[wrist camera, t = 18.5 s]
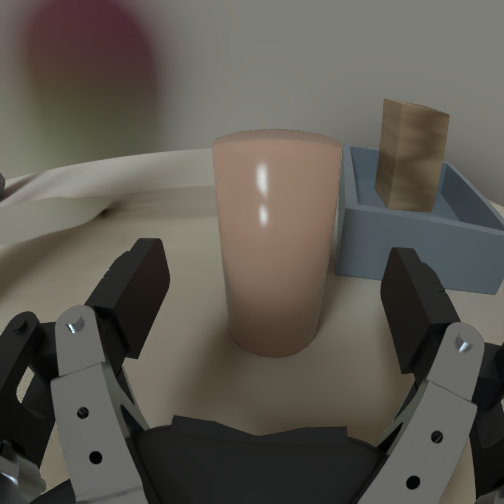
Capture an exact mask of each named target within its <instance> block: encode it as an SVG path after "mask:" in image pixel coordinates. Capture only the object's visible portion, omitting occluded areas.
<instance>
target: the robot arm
mask: <svg viewBox="0 0 504 504" xmlns="http://www.w3.org/2000/svg"><path fill="white" fill-rule="evenodd" d="M169 284H170V274H169V269H168V265H167V261H166V256H165V252H164V247H163V243H162V241H161V239H159V238H139V239H138V240H137V242H136V243H135V244H134V246H133V247H132V248H131V250H130V251H126V252H125V253H124V254H122V255H121V256H120V257H118V258H117V259H116V260H115V261H114V262H113V264H112V265H111V267H110V268H109V271H107V272H106V274H105V275H104V278H102V279H101V281H100V282H99V284H98V285H97V286H96V288H95V289H94V291H93V292H92V294H91V295H90V297H89V298H88V300H87V301H86V303H85V304H84V305H78V306H74V307H71V308H69V309H67V310H66V311H65V312H63V313H62V314H61V315H60V317H59V318H58V319H57V322H49V323H40V322H39V320H38V318H37V317H36V315H35V314H34V313H33V312H29V311H27V312H22V313H20V314H18V315H16V316H15V317H14V318H13V319H12V320H11V321H10V322H9V323H8V325H7V326H6V328H5V330H4V331H3V333H2V334H1V336H0V504H437V503H438V501H439V500H440V498H441V496H442V494H443V492H444V490H445V488H446V486H447V484H448V482H449V480H450V478H451V476H452V474H453V472H454V470H455V467H456V465H457V463H458V461H459V458H460V456H461V453H462V451H463V449H464V446H465V443H466V441H467V438H468V435H469V437H470V443H471V450H472V457H473V466H474V476H475V488H476V501H475V503H474V504H504V412H503V408H502V404H501V400H502V399H503V398H504V343H503V344H502V345H501V346H499V345H495V344H490V343H485V342H484V340H483V338H482V336H481V334H480V333H479V332H478V331H477V330H476V329H475V328H474V327H472V326H471V325H469V324H466V323H462V322H461V321H460V319H459V317H458V315H457V313H456V310H455V308H454V306H453V304H452V302H451V300H450V298H449V297H448V295H447V293H445V289H444V287H443V285H442V284H441V281H440V280H439V278H438V276H437V274H436V272H435V271H434V270H433V269H432V268H431V267H429V266H428V265H427V264H426V263H422V262H421V260H420V258H419V257H418V255H417V253H416V251H415V250H414V249H413V248H403V247H393V248H392V249H391V251H390V254H389V258H388V261H387V265H386V268H385V272H384V275H383V279H382V282H381V290H380V293H381V300H382V303H383V307H384V310H385V313H386V316H387V320H388V323H389V327H390V330H391V334H392V338H393V341H394V345H395V349H396V353H397V357H398V361H399V365H400V369H401V373H402V374H407V373H414V376H415V380H414V381H413V382H412V384H411V386H410V388H409V390H408V392H407V394H406V396H405V397H404V399H403V401H402V403H401V405H400V406H399V408H398V410H397V412H396V413H395V415H394V417H393V419H392V420H391V422H390V424H389V425H388V427H387V428H386V430H385V431H384V432H383V434H382V435H381V436H380V437H379V439H378V440H377V441H376V443H375V444H374V446H372V445H371V444H369V443H366V442H364V441H362V440H359V439H355V438H352V437H347V426H346V427H315V428H300V429H295V430H291V431H286V432H280V433H275V434H269V435H263V436H256V435H252V434H249V433H246V432H243V431H240V430H237V429H234V428H231V427H228V426H225V425H223V424H220V423H217V422H215V421H207V420H200V419H194V418H188V417H182V416H176V415H174V417H173V420H172V424H171V425H165V426H159V427H155V428H151V429H150V427H149V426H148V424H147V422H146V420H145V419H144V417H143V415H142V413H141V411H140V409H139V406H138V404H137V401H136V399H135V396H134V393H133V391H132V388H131V385H130V382H129V380H128V377H127V374H126V371H125V368H124V366H123V361H124V359H125V357H128V358H133V359H138V357H139V355H140V352H141V350H142V348H143V345H144V343H145V341H146V338H147V336H148V334H149V331H150V329H151V327H152V324H153V322H154V320H155V318H156V315H157V313H158V311H159V309H160V307H161V304H162V302H163V300H164V298H165V296H166V293H167V291H168V289H169ZM27 367H29V368H30V369H31V370H32V371H33V373H34V374H35V375H34V377H33V379H32V381H31V383H30V385H29V387H28V389H27V392H26V394H25V396H24V398H23V400H22V403H20V402H19V401H18V399H17V395H16V391H17V387H18V385H19V383H20V381H21V379H22V377H23V375H24V373H25V371H26V369H27ZM55 421H56V423H57V429H58V434H59V438H60V443H61V447H62V451H63V455H64V459H65V463H66V467H67V470H68V474H69V477H70V478H69V479H68V480H66V481H64V482H63V483H61V484H59V485H58V486H56V487H54V488H53V489H51V490H49V491H48V492H46V493H44V494H42V495H41V493H43V492H44V491H45V490H46V482H45V481H44V479H42V478H41V475H40V471H39V469H40V466H41V462H42V459H43V456H44V453H45V450H46V447H47V444H48V441H49V438H50V435H51V432H52V429H53V427H54V424H55Z"/></svg>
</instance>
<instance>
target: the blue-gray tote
mask: <svg viewBox="0 0 504 504" xmlns="http://www.w3.org/2000/svg"><path fill="white" fill-rule="evenodd" d="M378 157H379V149H375V148H369V147H362V146H354V145H345V144H343V147H342V160H341V171H340V182H339V215H338V237H337V254H336V269H335V274H339V275H346V276H353V277H361V278H368V279H376V280H382V279H383V275H384V272H385V268H386V265H387V261H388V258H389V254H390V251H391V249H392V248H393V247H403V248H413V249H414V250H415V251H416V253H417V255H418V257H419V258H420V260H421V262H422V263H426V264H427V265H428V266H429V267H431V268H432V269H433V270H434V271H435V272H436V274H437V276H438V278H439V280H440V281H441V284H442V285H443V287H444V288H446V289H454V290H462V291H470V292H478V293H486V294H496V293H497V291H498V289H499V287H500V285H501V283H502V281H503V279H504V219H503V217H502V216H501V215H500V214H499V213H498V212H497V210H496V209H495V208H494V207H493V206H492V205H491V204H490V203H489V201H488V200H487V199H486V198H485V197H484V196H483V195H482V194H481V193H480V192H479V191H478V190H477V189H476V188H475V187H474V186H473V185H472V184H471V183H470V182H469V181H468V180H467V179H466V178H465V177H464V176H463V175H462V174H461V173H460V172H459V171H458V170H457V169H456V168H455V167H454V166H453V165H452V164H451V163H447V162H443V163H442V169H441V174H440V179H439V184H438V188H437V193H436V197H435V201H434V205H433V209H432V213H426V212H415V211H404V210H392V209H387V207H386V206H385V204H384V203H383V201H382V200H381V198H380V197H379V195H378V194H377V192H376V191H375V189H374V187H375V180H376V173H377V165H378Z"/></svg>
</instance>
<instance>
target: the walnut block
mask: <svg viewBox="0 0 504 504" xmlns="http://www.w3.org/2000/svg"><path fill="white" fill-rule="evenodd" d="M448 124H449V114H446V113H443V112H441V111H438V110H435V109H432V108H429V107H426V106H421V105H417V104H412V103H406V102H401V101H396V100H390V99H384V104H383V118H382V129H381V140H380V149H379V157H378V165H377V173H376V180H375V187H374V189H375V191H376V192H377V194H378V195H379V197H380V198H381V200H382V201H383V203H384V204H385V206H386V207H387V209H392V210H404V211H415V212H426V213H432V209H433V205H434V201H435V197H436V193H437V188H438V184H439V179H440V174H441V169H442V163H443V158H444V152H445V146H446V139H447V132H448Z"/></svg>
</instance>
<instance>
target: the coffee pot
mask: <svg viewBox="0 0 504 504" xmlns="http://www.w3.org/2000/svg"><path fill="white" fill-rule="evenodd" d="M4 187H5V178H4V177H3V176H2V175H1V173H0V198H1V194H2V192H3V190H4Z"/></svg>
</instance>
